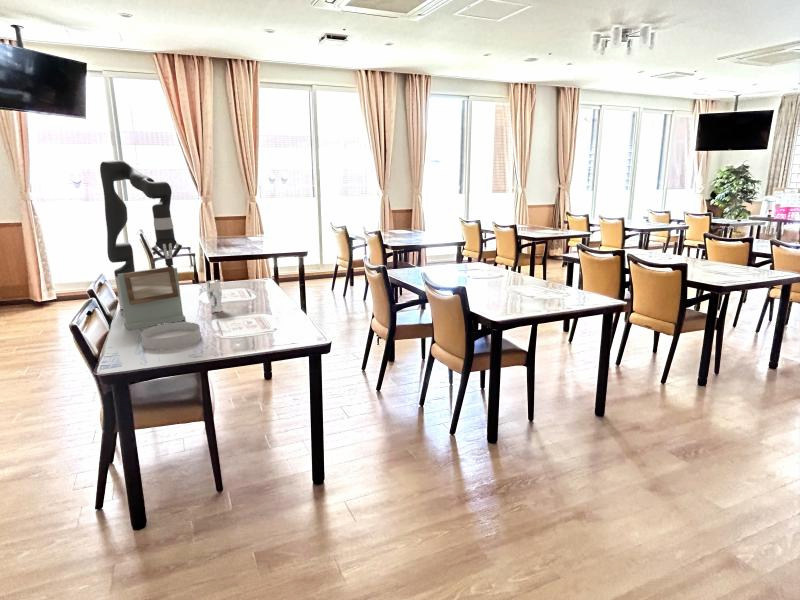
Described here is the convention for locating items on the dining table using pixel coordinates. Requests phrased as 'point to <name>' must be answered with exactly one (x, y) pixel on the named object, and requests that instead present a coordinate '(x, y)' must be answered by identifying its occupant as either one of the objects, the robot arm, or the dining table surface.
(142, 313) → the board
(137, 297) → the frame
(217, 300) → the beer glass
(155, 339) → the dish
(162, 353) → the dining table surface
